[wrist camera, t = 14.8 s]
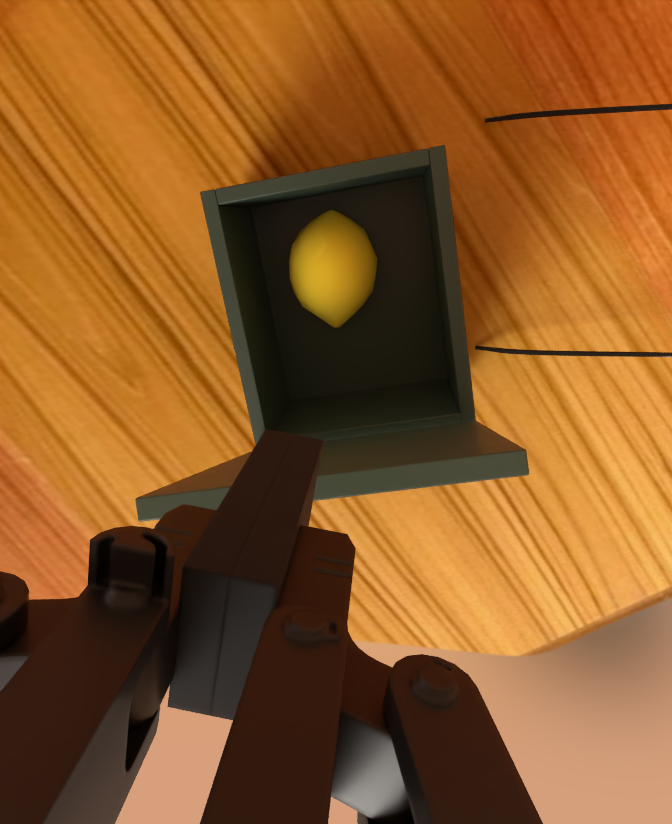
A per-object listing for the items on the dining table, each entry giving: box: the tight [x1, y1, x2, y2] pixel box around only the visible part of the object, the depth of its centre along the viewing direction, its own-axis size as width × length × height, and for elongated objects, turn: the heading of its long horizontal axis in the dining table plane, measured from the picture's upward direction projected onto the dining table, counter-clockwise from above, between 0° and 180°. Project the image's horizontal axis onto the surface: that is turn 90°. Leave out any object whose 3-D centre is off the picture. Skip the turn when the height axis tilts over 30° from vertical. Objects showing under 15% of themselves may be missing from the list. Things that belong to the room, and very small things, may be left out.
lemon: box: [289, 210, 378, 327], centre depth 38 cm, size 7×5×5 cm
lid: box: [136, 421, 529, 522], centre depth 27 cm, size 15×13×1 cm
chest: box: [200, 145, 476, 444], centre depth 37 cm, size 15×13×9 cm
